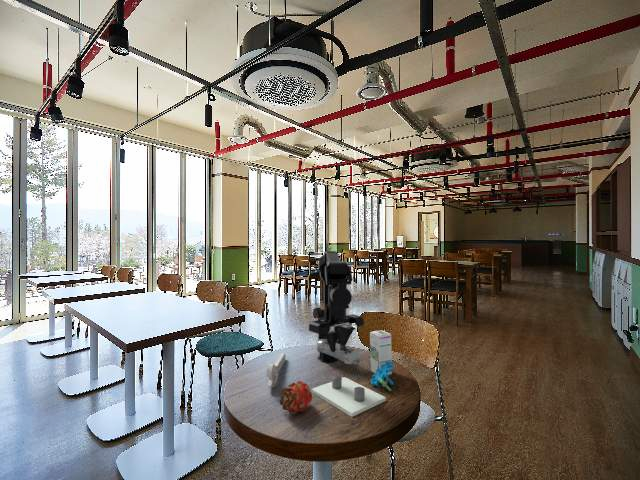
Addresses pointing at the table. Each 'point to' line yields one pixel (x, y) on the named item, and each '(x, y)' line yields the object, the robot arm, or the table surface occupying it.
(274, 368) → the wrench
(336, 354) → the ball-ended metal rod
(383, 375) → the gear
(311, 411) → the table surface
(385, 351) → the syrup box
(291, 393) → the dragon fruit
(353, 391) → the peg board
